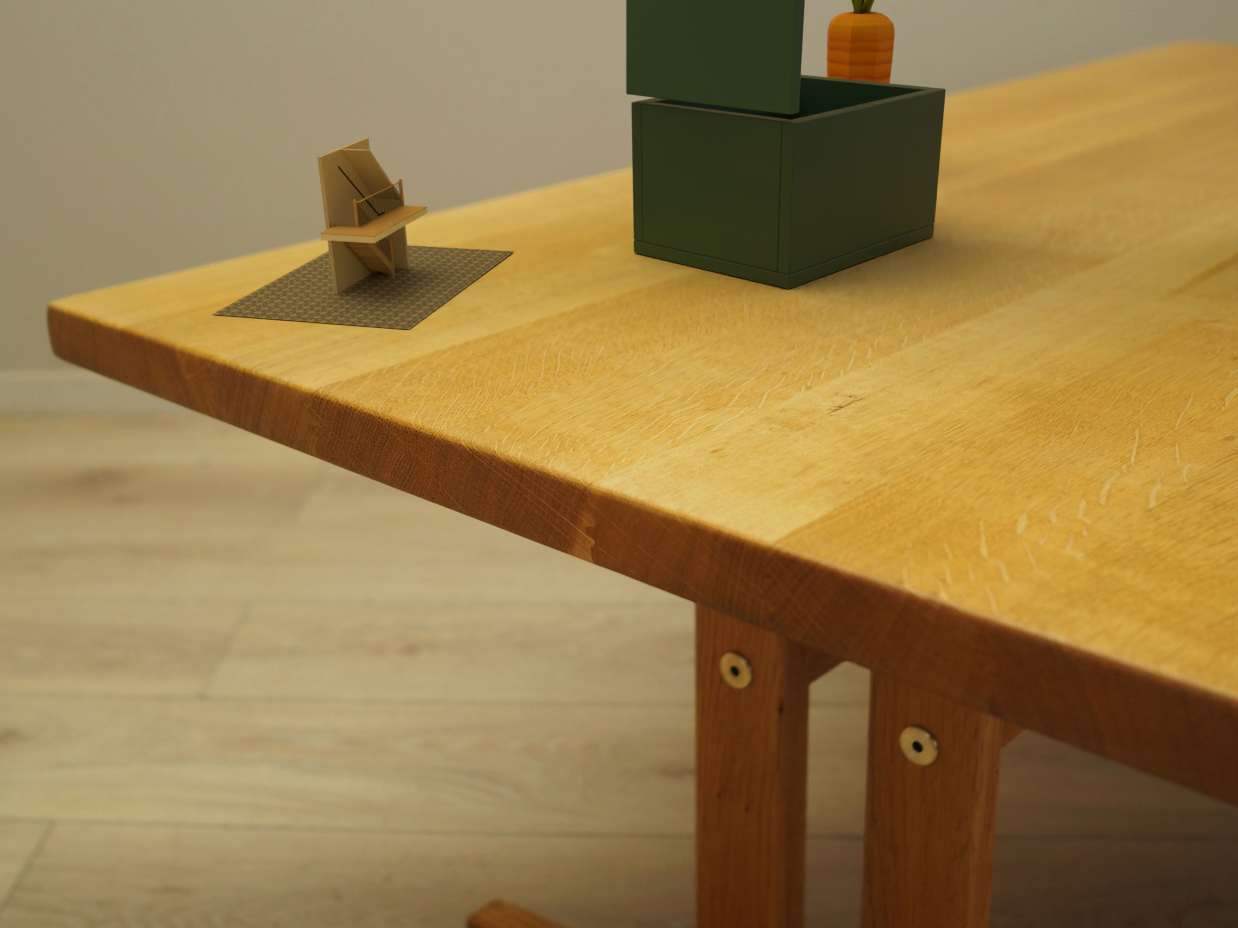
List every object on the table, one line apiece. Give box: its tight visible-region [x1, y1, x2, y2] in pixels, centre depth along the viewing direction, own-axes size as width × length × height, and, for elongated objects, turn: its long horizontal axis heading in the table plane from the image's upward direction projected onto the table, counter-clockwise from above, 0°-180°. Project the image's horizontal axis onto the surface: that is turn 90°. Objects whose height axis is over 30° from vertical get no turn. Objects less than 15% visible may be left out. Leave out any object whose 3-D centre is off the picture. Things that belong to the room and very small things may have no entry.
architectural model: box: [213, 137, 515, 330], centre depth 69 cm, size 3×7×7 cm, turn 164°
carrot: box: [826, 0, 896, 83], centre depth 92 cm, size 5×5×15 cm
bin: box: [630, 74, 947, 290], centre depth 74 cm, size 15×12×9 cm
